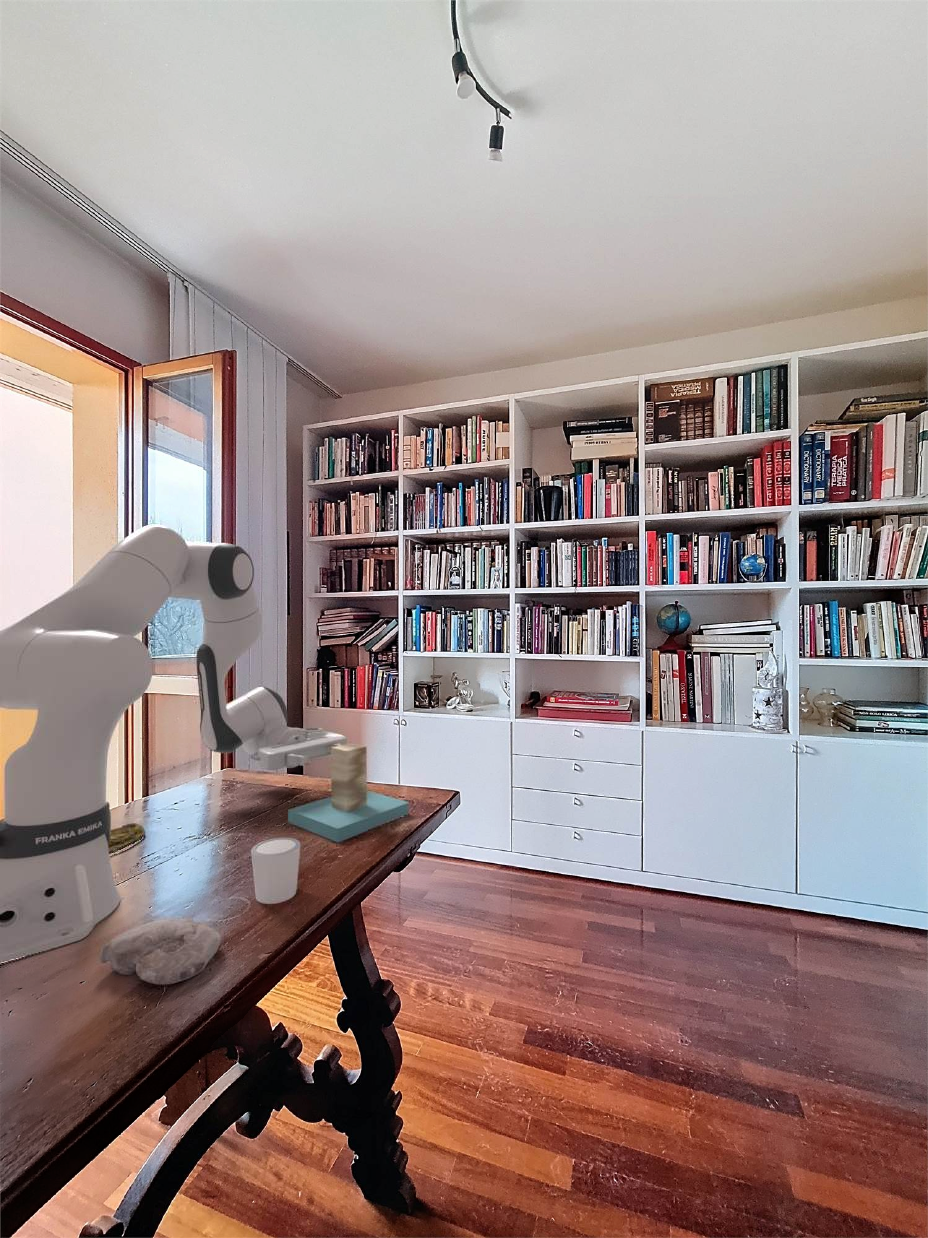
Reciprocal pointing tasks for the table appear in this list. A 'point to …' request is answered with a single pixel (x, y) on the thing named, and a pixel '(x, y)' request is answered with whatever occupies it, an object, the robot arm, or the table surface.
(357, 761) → the birch block
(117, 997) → the table surface
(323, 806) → the teal board
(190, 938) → the fossil
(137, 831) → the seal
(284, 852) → the shot glass
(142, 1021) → the table surface
